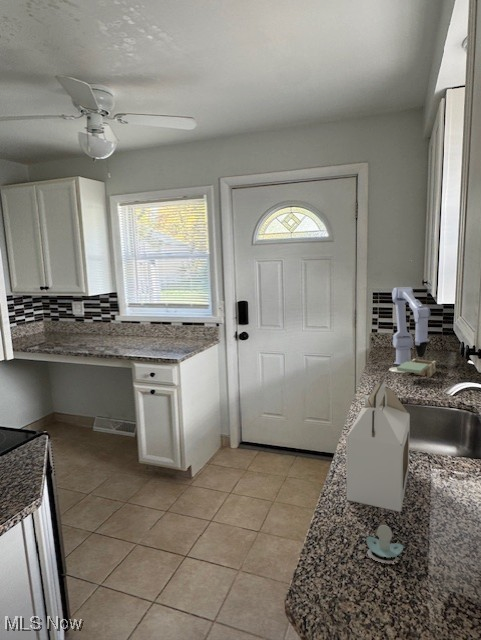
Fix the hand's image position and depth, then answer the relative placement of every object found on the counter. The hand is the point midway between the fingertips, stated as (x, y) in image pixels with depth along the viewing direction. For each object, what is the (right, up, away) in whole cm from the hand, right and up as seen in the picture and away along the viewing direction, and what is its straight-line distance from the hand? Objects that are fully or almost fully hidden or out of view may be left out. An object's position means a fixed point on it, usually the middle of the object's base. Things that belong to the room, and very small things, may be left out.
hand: (420, 356), depth 213 cm
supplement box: (-45, -21, -67) cm, 84 cm away
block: (0, -9, +1) cm, 10 cm away
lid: (-9, -5, -10) cm, 14 cm away
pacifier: (-64, -31, -128) cm, 146 cm away
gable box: (-56, -27, -101) cm, 118 cm away
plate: (-8, -9, +9) cm, 15 cm away
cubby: (+1, -9, +2) cm, 9 cm away
